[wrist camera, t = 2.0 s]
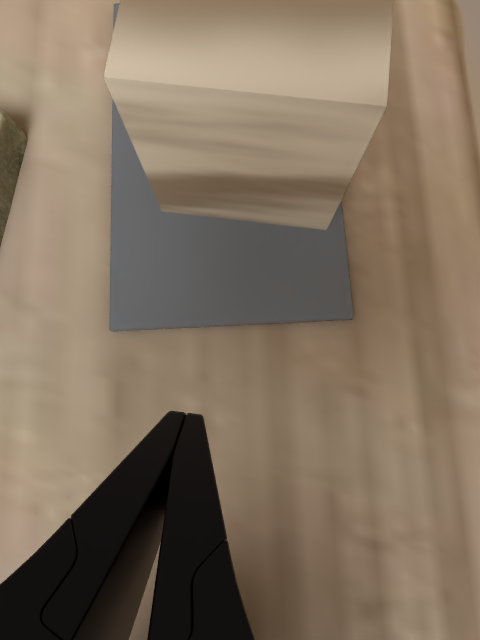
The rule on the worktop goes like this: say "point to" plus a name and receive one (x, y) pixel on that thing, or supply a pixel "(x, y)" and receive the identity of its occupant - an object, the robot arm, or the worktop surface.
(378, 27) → the maple block
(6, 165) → the decorative tile
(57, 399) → the worktop surface
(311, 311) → the rubber mat
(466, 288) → the worktop surface
